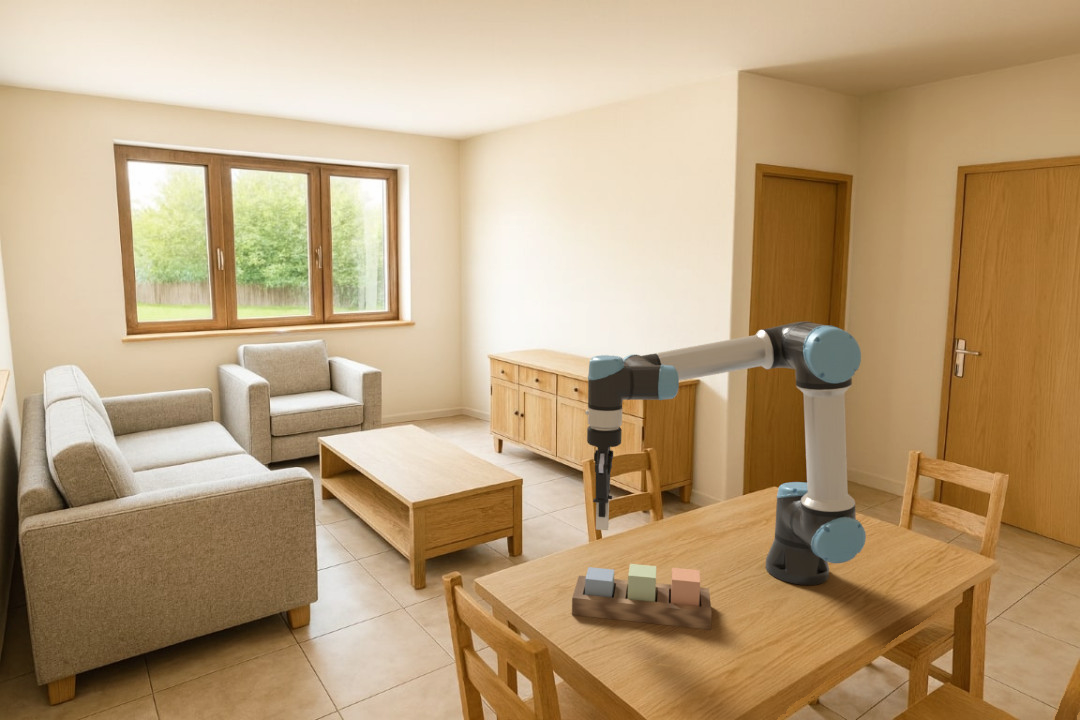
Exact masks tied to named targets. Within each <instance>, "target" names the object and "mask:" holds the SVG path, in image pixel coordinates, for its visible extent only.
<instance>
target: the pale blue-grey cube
mask: <svg viewBox="0 0 1080 720" xmlns="http://www.w3.org/2000/svg"><path fill="white" fill-rule="evenodd" d="M585 576H586V578H585V595H593V596H602V597H612V598H614V579H615V569H611V568H601V567H591V566H588V567H587V571H586V575H585Z"/></svg>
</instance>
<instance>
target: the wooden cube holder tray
mask: <svg viewBox="0 0 1080 720" xmlns="http://www.w3.org/2000/svg"><path fill="white" fill-rule="evenodd" d="M585 578H586V575H578V577H577V580H576V584H575V587H574V591H573V595H572V598H571V604H572V605H571V616H572V615H573V616H581V617H582V616H583V617H591V618H598V619H600V618H601V619H609V620H618V621H627V622H634V623H635V622H637V623H645V624H646V623H647V624H655V625H656V624H657V625H664V626H665V625H666V626H673V627H674V626H675V627H681V628H682V627H683V628H692V629H699V630H700V629H701V630H710V631H711V629H712V605H711V604H712V603H711V594H710V588H709V587H701V586H700V598H699V606H691V605H681V604H671V583H670V584H669V583H658V582H656V591H655V602H651V601H642V600H632V599H627V598H628V579H627V580H626V579H618V578H617V579H615V578H614V598H612V597H602V596H593V595H585Z"/></svg>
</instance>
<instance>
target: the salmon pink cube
mask: <svg viewBox="0 0 1080 720" xmlns="http://www.w3.org/2000/svg"><path fill="white" fill-rule="evenodd" d="M670 585H671V604H681V605H691V606H699V598H700V587H701V573H700V570H699V569H691V568H690V569H689V568H678V567H671V583H670Z"/></svg>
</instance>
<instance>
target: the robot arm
mask: <svg viewBox="0 0 1080 720" xmlns="http://www.w3.org/2000/svg"><path fill="white" fill-rule="evenodd" d="M861 351H862V350H861V348H860V345H859V343H858V341H857V340H856V339H855V337H854V336H853V335H852V334H851V333H849V332H848V331H846V330H844V329H841V328H839V327H837V326H834V325H829V324H828V325H826V324H822V323H815V322H811V321H797V322H796V321H795V322H791V323H788V324H787V323H786V324H782V325H778V326H773V327H769V328H764V329H759V330H758V331H757V332H756V333H755V334H754V335H749V336H742V337H739V338H738V337H737V338H732V339H728V340H727V339H726V340H721V341H716V342H710V343H705V344H700V345H693V346H689V347H683V348H679V349H672V350H667V351H666V350H665V351H660V352H656V353H651V354H650V353H649V354H645V355H640V354H629V355H626V356H625V357H621V356H617V355H608V354H607V355H606V354H605V355H603V354H602V355H596V356H593V357H591V358H590V360H589V362H588V363H589V365H588V376H587V390H588V391H587V410H585V412H584V414H585V415H586V416H587V425H588V427H587V429H586V432H587V433H586V434H587V435H586V442H587V444H588V445H590V446H592V447H596V448H597V449H595V452H594V453H593V460H594V472H595V498H593V499H592V502H593V503H595V504H596V506H595V507H596V508H595V516H596V517H595V530H597V531H599V530H600V531H609V523H610V521H609V519H610V518H609V516H610V515H609V513H610V500H613V495H610V492H611V473H612V472H611V470H612V469H613V458H614V450H612V449H611V448H615V447H618V446H620V445H621V444H622V433H623V432H622V428H621V426H622V425H623V402H624V400H627V401H630V400H632V401H634V400H640V401H641V400H642V401H643V400H646V401H647V400H648V401H649V400H652V401H654V400H658V401H662V400H663V401H664V400H673V399H674V398H676V397H677V395H678V393H679V387H680V386H679V384H680V383H679V382H680V381H687V380H692V379H697V378H703V377H708V376H713V375H714V376H715V375H719V374H724V373H731V372H735V371H742V370H745V369H746V370H747V369H752V368H758V367H762V368H764V369H765V370H771V369H777V368H778V369H781V368H783V369H784V368H785V369H791V370H795V373H794V375H795V387H796V388H797V389H798V390H799V391H801V393H803V395H802V396H803V415H804V418H803V419H804V440H805V441H804V442H805V459H806V460H805V461H806V462H805V463H806V466H805V467H806V482H803V481H802V482H801V481H792V482H785V483H784V482H783V483H782V484H780V485H779V487H778V489H777V494H776V511H775V523H774V524H775V526H774V527H775V528H774V540H773V541H772V544H771V545H770V549H769V551H768V554H767V555H766V558H765V570H766V571H767V572H768V574H770V575H771V576H773V577H774V578H776V579H778V580H779V581H784V582H786V583H790V584H795V585H802V586H815V585H816V586H817V585H820V584H823V583H825V582H827V581H828V580H829V577H830V574H829V573H830V567H829V563H831V564H842V563H843V564H844V563H847V562H849V561H852V560H853V559H854V558H856V556H857V554H859V553H861V551H862V550H863V549H864V546H865V543H866V538H867V536H866V535H867V534H866V530H865V527H864V526H863V525H862V523H861V522H860V521H859V520H858V519H857V517H856V516H857V515H856V501H855V499H854V498H853V497H852V496H851V495H850V494H849V493H848V492H849V491H848V467H847V466H848V463H847V462H848V460H847V434H846V433H847V432H846V431H847V430H846V425H847V424H846V401H845V399H846V398H845V394H846V392H847V391H848V390H849V389H850V388H851V387H852V384H853V382H852V381H853V377H854V375H855V374H856V371H858V370H859V368H860V366H861V362H862V352H861Z"/></svg>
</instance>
